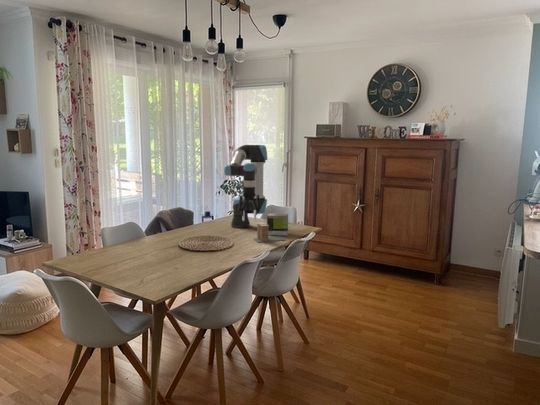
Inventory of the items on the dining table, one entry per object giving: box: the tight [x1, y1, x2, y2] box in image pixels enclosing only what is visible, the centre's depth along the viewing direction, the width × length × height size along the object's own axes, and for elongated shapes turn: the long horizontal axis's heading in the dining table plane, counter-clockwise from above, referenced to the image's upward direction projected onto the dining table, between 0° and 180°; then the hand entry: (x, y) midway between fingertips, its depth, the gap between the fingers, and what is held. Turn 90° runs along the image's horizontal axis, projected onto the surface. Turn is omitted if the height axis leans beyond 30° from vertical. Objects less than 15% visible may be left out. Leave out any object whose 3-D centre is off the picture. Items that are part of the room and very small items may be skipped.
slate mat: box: [253, 235, 286, 244], centre depth 276 cm, size 10×20×1 cm, turn 112°
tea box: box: [266, 213, 289, 236], centre depth 292 cm, size 15×10×15 cm, turn 84°
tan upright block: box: [256, 222, 270, 241], centre depth 273 cm, size 9×5×11 cm, turn 22°
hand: (249, 220), depth 268 cm, fingers open, 8 cm apart
